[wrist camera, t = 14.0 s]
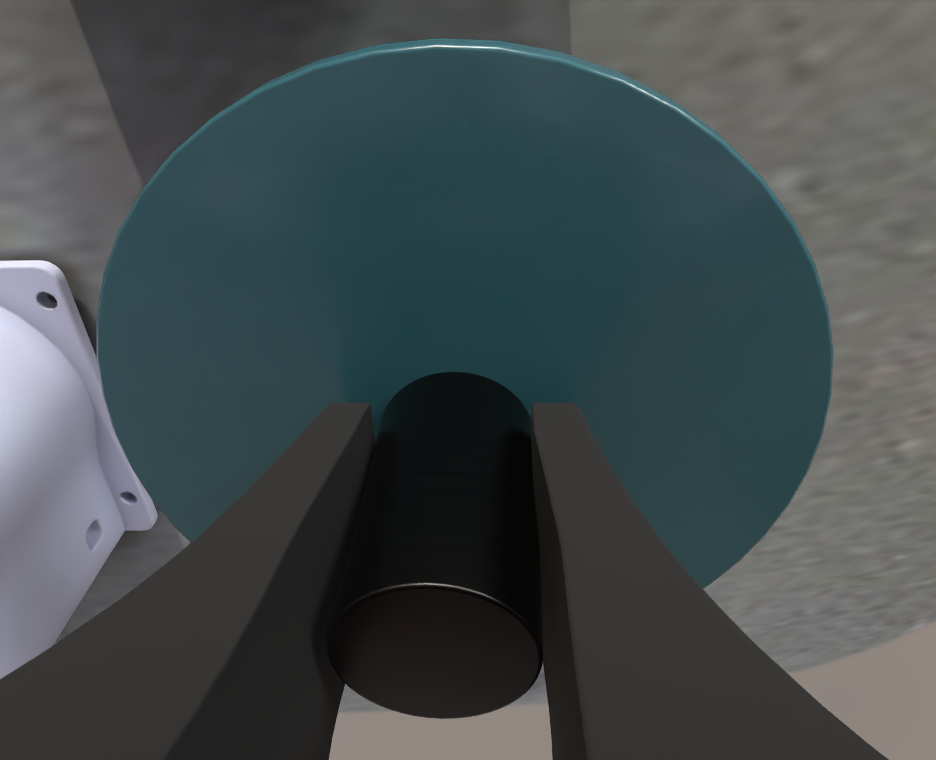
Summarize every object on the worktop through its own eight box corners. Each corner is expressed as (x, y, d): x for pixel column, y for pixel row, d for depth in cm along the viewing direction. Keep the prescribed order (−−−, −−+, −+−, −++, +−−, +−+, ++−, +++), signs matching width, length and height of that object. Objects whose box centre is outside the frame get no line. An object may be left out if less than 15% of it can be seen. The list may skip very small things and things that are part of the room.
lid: (739, 614, 15) (831, 898, 11) (217, 604, 15) (105, 867, 11) (902, 14, 9) (1284, 119, 4) (17, 43, 9) (-396, 158, 5)
